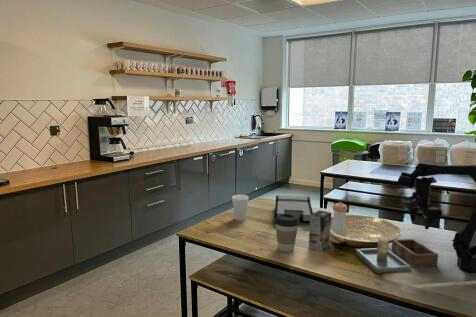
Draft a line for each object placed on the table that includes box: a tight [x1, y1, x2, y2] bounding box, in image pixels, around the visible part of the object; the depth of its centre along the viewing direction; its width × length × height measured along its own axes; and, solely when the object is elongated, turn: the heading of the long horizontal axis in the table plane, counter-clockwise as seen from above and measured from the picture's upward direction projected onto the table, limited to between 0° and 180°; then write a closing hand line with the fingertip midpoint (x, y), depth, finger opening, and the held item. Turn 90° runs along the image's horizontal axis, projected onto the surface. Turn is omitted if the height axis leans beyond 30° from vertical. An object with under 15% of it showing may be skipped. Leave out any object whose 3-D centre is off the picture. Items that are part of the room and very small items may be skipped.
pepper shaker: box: [330, 201, 349, 244], centre depth 165 cm, size 7×7×19 cm
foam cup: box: [231, 194, 250, 222], centre depth 195 cm, size 10×9×13 cm
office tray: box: [273, 194, 314, 225], centre depth 201 cm, size 21×32×8 cm, turn 172°
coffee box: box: [308, 210, 332, 252], centre depth 158 cm, size 9×6×16 cm
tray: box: [355, 247, 412, 275], centre depth 143 cm, size 18×14×2 cm
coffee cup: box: [273, 214, 300, 253], centre depth 156 cm, size 11×11×15 cm
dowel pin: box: [377, 237, 390, 263], centre depth 143 cm, size 4×4×9 cm
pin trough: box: [391, 238, 439, 268], centre depth 146 cm, size 16×10×6 cm, turn 8°
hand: (419, 225), depth 151 cm, fingers open, 9 cm apart
